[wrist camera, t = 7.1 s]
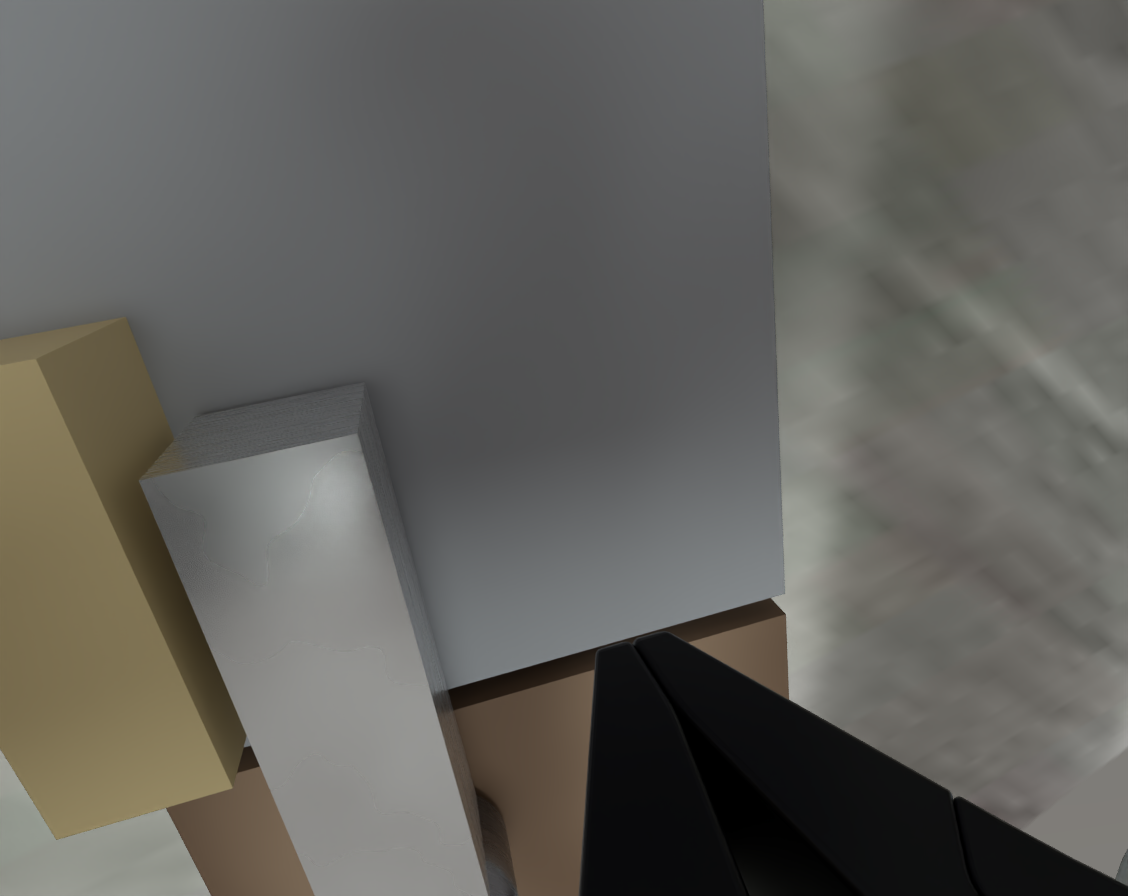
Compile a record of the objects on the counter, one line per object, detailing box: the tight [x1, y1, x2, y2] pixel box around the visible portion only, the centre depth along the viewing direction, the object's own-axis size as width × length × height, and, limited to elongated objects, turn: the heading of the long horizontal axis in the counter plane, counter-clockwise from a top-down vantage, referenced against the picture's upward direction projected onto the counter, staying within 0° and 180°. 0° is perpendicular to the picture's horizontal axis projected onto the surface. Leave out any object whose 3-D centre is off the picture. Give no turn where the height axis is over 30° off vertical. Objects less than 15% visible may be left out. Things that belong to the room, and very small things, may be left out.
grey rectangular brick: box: [0, 0, 785, 840], centre depth 11 cm, size 12×12×7 cm
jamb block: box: [166, 598, 789, 896], centre depth 16 cm, size 12×6×4 cm, turn 98°
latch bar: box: [139, 382, 518, 896], centre depth 11 cm, size 11×3×2 cm, turn 8°
